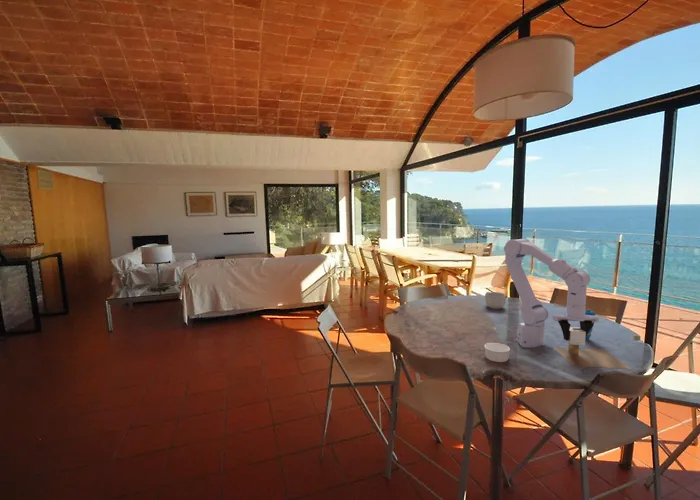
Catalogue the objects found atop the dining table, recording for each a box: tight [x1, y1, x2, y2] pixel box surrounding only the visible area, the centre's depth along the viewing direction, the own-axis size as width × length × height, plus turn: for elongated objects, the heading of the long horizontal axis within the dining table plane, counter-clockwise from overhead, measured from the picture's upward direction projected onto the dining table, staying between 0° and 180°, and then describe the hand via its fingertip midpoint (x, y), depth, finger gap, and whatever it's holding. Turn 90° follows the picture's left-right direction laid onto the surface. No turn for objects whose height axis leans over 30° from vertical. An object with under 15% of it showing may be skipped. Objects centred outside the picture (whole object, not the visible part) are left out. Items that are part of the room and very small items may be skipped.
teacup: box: [484, 291, 507, 310], centre depth 193 cm, size 14×11×8 cm
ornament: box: [585, 308, 597, 341], centre depth 139 cm, size 5×5×15 cm
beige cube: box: [563, 326, 586, 346], centre depth 125 cm, size 5×5×5 cm
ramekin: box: [483, 342, 511, 363], centre depth 127 cm, size 9×9×4 cm
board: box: [553, 343, 632, 370], centre depth 122 cm, size 18×16×6 cm
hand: (574, 339), depth 125 cm, fingers closed on beige cube, 5 cm apart
